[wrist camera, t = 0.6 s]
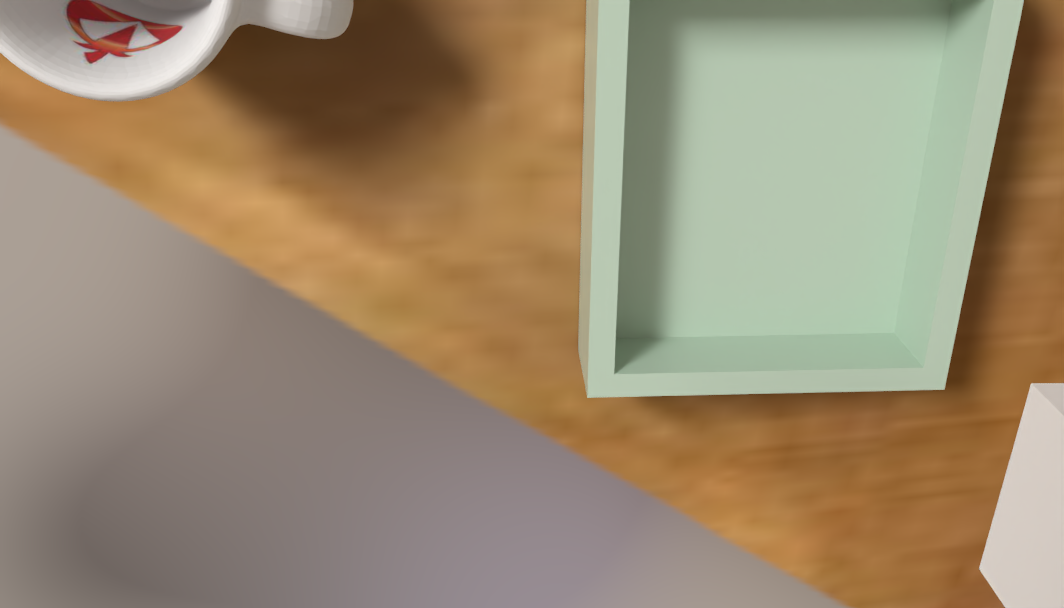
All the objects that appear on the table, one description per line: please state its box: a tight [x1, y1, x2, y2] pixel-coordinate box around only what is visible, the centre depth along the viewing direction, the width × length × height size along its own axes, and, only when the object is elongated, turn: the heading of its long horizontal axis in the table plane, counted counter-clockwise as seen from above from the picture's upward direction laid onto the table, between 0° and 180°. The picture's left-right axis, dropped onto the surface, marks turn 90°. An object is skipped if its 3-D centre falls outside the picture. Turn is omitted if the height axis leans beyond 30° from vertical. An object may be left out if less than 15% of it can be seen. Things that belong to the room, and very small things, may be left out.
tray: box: [578, 0, 1024, 398], centre depth 36 cm, size 16×14×4 cm
